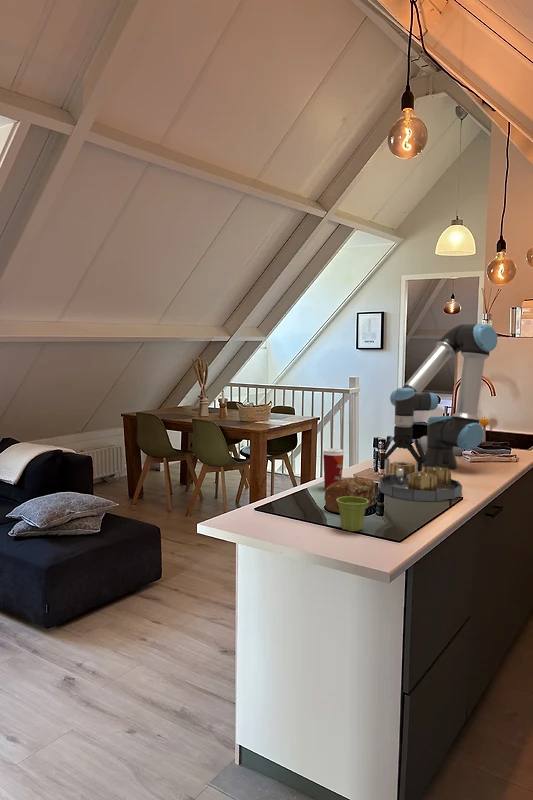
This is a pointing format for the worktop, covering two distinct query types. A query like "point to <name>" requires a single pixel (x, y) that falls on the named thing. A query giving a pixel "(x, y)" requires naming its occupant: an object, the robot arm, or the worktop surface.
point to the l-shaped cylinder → (424, 446)
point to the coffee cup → (332, 466)
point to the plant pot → (352, 512)
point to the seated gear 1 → (422, 481)
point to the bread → (350, 491)
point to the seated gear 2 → (440, 475)
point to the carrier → (399, 489)
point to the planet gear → (406, 466)
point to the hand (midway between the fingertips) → (401, 476)
